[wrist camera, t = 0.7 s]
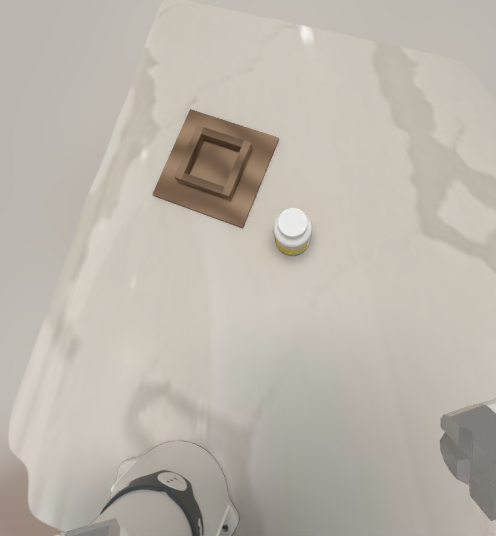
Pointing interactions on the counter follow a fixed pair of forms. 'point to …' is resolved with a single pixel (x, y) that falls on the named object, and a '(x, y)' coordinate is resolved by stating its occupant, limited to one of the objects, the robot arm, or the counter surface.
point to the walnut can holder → (216, 167)
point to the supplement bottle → (292, 231)
